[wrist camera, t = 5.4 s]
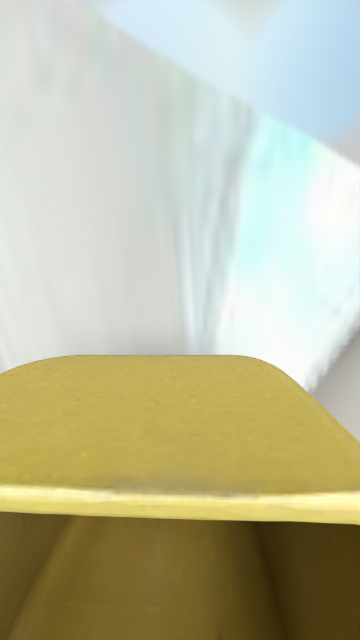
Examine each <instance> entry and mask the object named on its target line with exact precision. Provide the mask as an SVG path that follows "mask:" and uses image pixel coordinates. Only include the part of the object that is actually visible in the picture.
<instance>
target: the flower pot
mask: <svg viewBox="0 0 360 640" xmlns="http://www.w3.org/2000/svg"><path fill="white" fill-rule="evenodd" d="M0 640H360V442H359V441H358V440H357V439H356V438H355V437H354V436H353V435H352V434H350V433H349V432H348V431H347V430H346V429H345V428H344V427H343V426H342V425H341V424H340V423H339V422H338V421H337V420H336V419H335V418H334V417H333V416H332V415H331V414H330V413H329V412H328V411H327V410H326V409H325V408H324V407H323V406H322V405H320V404H319V403H318V402H317V401H316V400H315V399H314V398H313V397H312V396H311V395H310V394H309V393H307V392H306V391H305V390H304V389H303V388H302V387H301V386H300V385H299V384H298V383H297V382H296V381H294V380H293V379H292V378H291V377H289V376H288V375H287V374H286V373H284V372H283V371H282V370H280V369H279V368H277V367H275V366H273V365H271V364H269V363H267V362H265V361H263V360H260V359H256V358H252V357H248V356H239V355H163V356H158V355H73V356H63V357H55V358H49V359H44V360H39V361H35V362H32V363H28V364H25V365H21V366H19V367H16V368H13V369H11V370H8V371H6V372H4V373H2V374H0Z"/></svg>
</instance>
